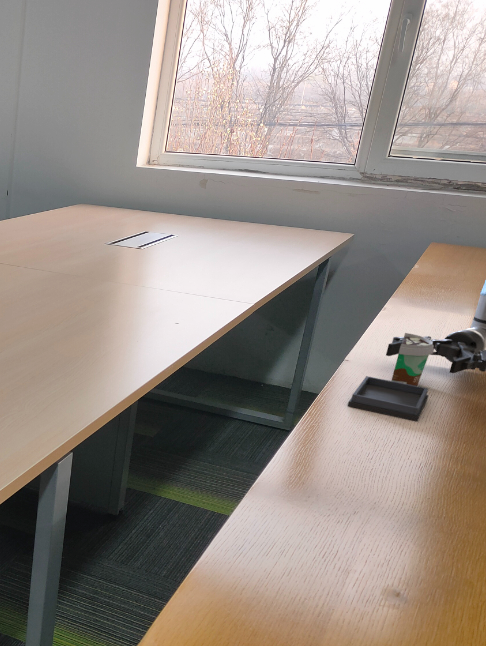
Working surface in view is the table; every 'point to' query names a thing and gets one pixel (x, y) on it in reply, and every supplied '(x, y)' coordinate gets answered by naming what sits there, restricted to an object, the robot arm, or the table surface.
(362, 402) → the pad
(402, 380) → the food container
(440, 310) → the table surface
